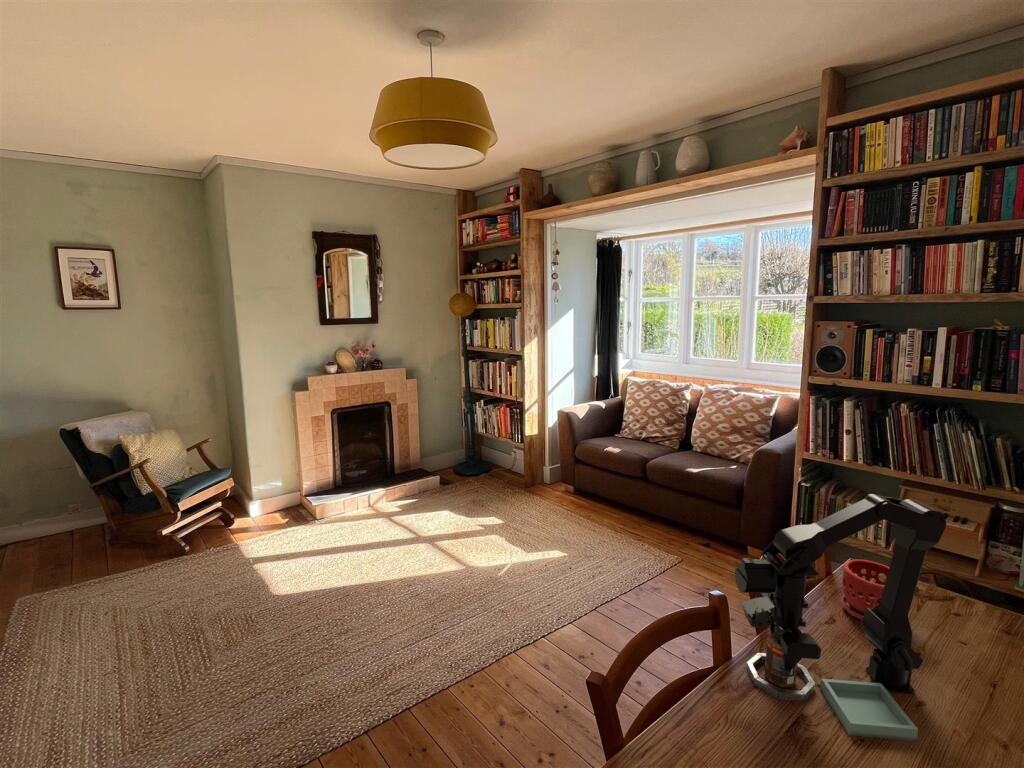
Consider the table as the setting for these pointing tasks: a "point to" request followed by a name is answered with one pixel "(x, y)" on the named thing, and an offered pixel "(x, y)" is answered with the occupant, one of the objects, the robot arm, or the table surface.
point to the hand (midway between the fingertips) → (781, 659)
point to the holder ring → (776, 691)
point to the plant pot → (862, 586)
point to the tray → (868, 710)
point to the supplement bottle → (778, 662)
